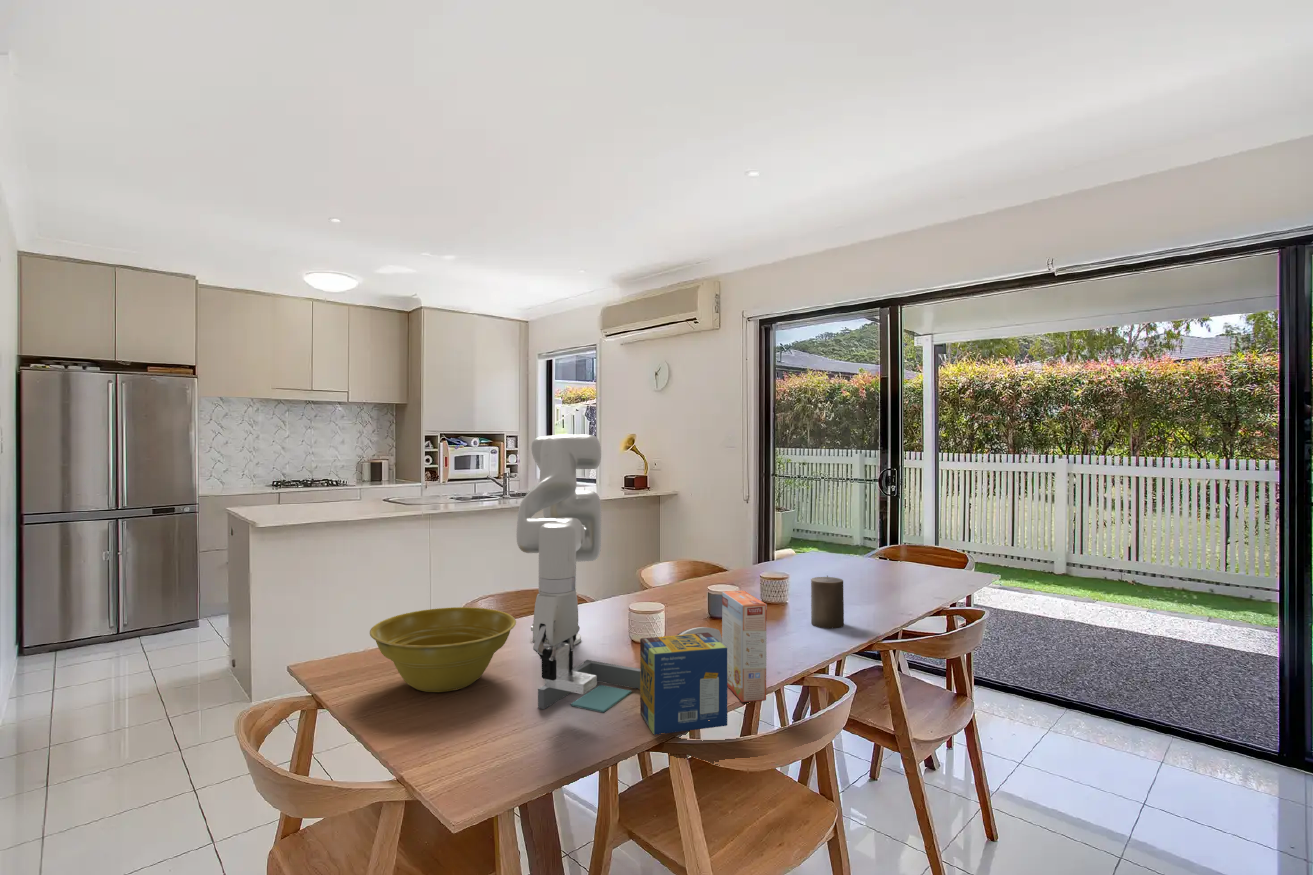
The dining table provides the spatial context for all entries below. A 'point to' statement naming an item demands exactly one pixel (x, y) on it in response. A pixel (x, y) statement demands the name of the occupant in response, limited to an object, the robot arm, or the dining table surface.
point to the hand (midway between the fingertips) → (557, 673)
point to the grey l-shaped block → (569, 673)
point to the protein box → (683, 682)
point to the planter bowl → (442, 645)
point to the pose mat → (601, 698)
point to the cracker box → (745, 644)
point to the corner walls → (604, 674)
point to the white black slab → (712, 631)
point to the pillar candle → (827, 602)
